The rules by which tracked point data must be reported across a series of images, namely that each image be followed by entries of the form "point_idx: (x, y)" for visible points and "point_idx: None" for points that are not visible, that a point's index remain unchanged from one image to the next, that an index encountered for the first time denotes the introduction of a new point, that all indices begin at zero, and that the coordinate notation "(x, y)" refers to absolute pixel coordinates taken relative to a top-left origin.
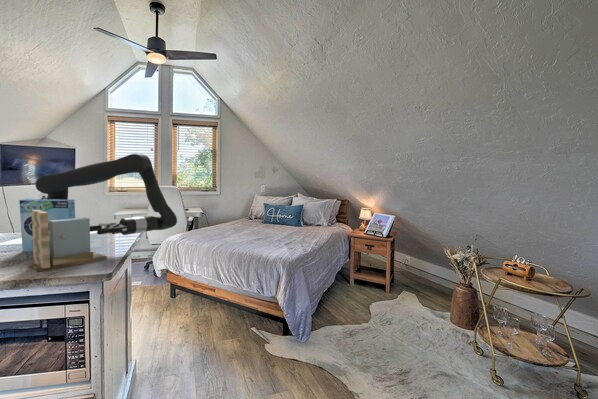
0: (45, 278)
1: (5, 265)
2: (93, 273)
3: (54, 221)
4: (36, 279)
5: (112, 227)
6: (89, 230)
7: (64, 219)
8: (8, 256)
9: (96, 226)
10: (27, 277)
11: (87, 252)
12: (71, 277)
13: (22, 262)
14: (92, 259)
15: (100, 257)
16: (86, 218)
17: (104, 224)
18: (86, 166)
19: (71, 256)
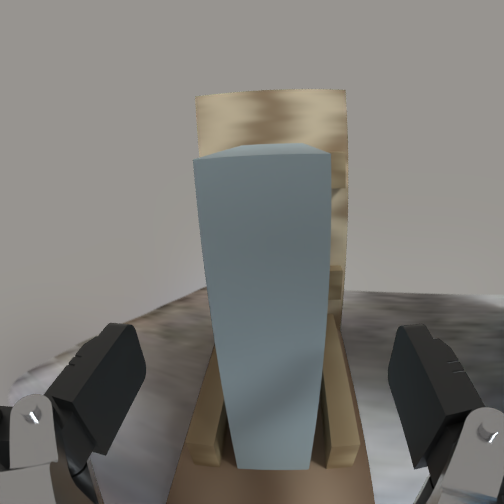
0: (146, 315)
1: (383, 292)
2: (46, 376)
3: (247, 145)
4: (160, 306)
5: (9, 441)
6: (210, 304)
7: (295, 145)
8: (489, 298)
9: (429, 393)
10: (199, 301)
11: (213, 423)
12: (84, 341)
13: (397, 313)
14: (181, 455)
15: (174, 494)
16: (221, 155)
17: (439, 490)
18: None
19: (211, 360)
